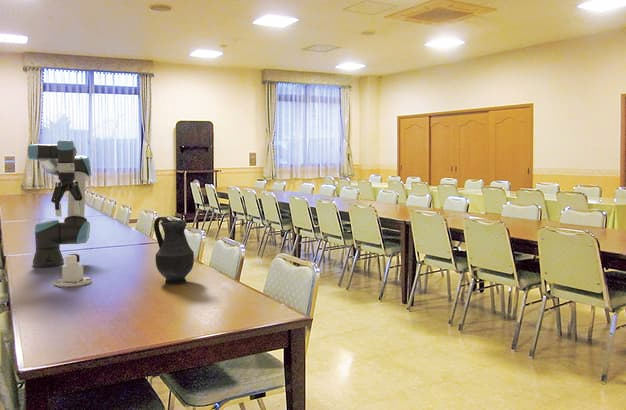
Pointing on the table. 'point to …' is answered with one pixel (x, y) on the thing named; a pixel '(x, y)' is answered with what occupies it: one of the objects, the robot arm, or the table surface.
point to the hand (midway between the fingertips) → (68, 215)
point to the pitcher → (173, 251)
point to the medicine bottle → (72, 269)
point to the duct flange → (73, 283)
